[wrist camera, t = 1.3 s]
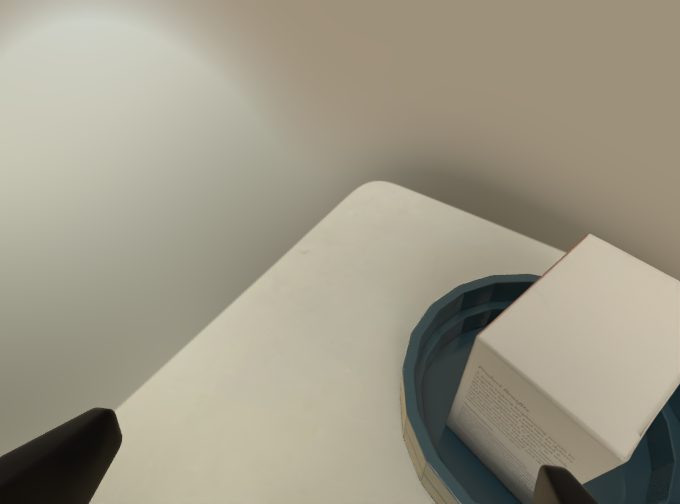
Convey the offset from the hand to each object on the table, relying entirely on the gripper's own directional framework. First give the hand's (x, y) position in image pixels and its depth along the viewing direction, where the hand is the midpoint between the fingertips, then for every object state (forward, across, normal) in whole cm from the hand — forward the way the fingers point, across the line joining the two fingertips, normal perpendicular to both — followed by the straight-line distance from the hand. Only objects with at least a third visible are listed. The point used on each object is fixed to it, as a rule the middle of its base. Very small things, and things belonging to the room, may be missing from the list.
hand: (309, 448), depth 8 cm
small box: (+13, -9, +10) cm, 19 cm away
